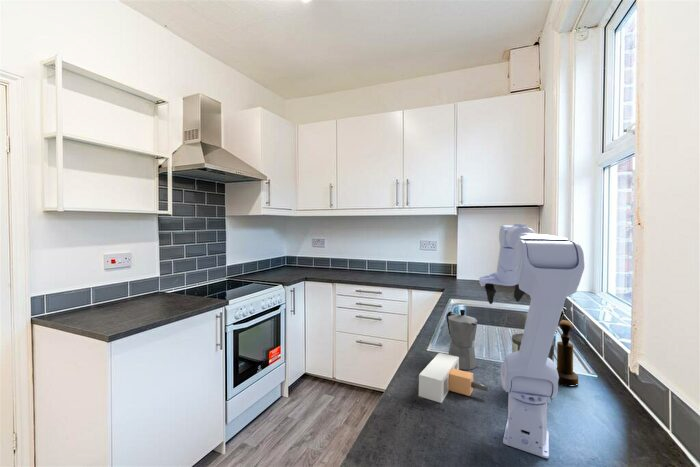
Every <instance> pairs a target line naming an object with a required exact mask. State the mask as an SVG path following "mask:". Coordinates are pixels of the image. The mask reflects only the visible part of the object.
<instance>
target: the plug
mask: <svg viewBox="0 0 700 467" xmlns="http://www.w3.org/2000/svg"><path fill="white" fill-rule="evenodd" d="M474 389H476V390H480V391H483V392H488V391H489V385H486V384H483V383H479V382H474V373H473V372H470V371H466V370H462V369H459V370H457V369H453V368H452V369H451V371H450V372H449V391H450V392H454V393H457V394H461V395H463V396H464V395H465V396H468V397H471V395H472V393H473V391H474Z"/></svg>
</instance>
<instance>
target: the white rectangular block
mask: <svg viewBox="0 0 700 467" xmlns="http://www.w3.org/2000/svg"><path fill="white" fill-rule="evenodd" d="M452 368H453V369H457V370H460V369H459V357H457V356H452V355H448V353H447V354H446V353H444V352H443V353H442V352H438V353H437V354H436V355H435V357H434V358H433V359H432V360H431V361H430V362H429V363H428V364H427V365H426V366H425V368H423V370H421V372H420V373H419V375H418V397H419V398H424V399H427V400H431V401H433V402H437V403H440V404H443V401H444V400H445V398H446V397H447V395H448V393H449V391H450V390H449V372H450V371H451V369H452Z"/></svg>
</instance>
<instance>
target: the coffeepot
mask: <svg viewBox="0 0 700 467" xmlns="http://www.w3.org/2000/svg"><path fill="white" fill-rule="evenodd" d="M459 312H460V314H457V313H456V312H453V311H447V313H446V315H445V316H446V318H445V319H446V323H447V329H448V334H449V337H450V338H451V342H450V344H449V348H448V353H447V354H448V355H452V356H457V357H459V370H461V371H470V370H474V369H475V368H476V367H477V361H476V360H477V358H476V353H475V347H474V341H475V340H476V339H475V338H476V333H477V327H478V322H479V321H478V320H477V318H476V317H472V316H469V315H465V313H466V310H465V309H459Z"/></svg>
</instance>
